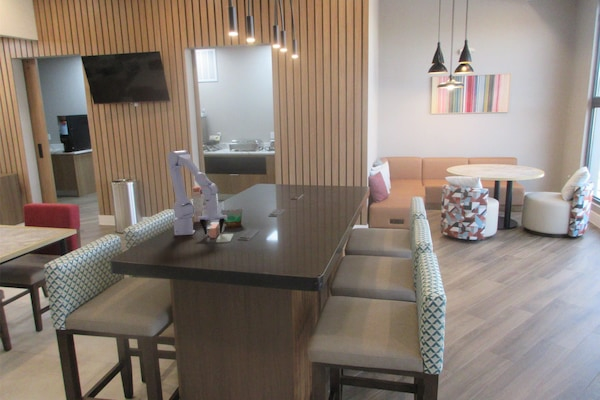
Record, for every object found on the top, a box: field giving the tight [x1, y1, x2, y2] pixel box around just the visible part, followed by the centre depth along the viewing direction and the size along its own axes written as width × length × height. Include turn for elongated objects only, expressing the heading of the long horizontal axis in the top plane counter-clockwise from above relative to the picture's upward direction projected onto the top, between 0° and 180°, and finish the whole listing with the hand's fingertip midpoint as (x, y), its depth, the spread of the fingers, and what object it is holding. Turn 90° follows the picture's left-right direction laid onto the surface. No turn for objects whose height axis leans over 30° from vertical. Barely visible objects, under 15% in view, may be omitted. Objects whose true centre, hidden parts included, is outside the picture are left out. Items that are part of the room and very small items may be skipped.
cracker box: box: [191, 185, 206, 223], centre depth 258 cm, size 14×6×21 cm, turn 168°
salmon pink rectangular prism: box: [208, 224, 219, 239], centre depth 224 cm, size 3×10×5 cm, turn 2°
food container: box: [220, 207, 244, 229], centre depth 239 cm, size 12×6×10 cm, turn 105°
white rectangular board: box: [215, 233, 234, 243], centre depth 216 cm, size 7×13×1 cm, turn 2°
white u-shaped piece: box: [206, 221, 226, 237], centre depth 229 cm, size 7×13×4 cm, turn 2°
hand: (213, 233), depth 221 cm, fingers open, 7 cm apart
